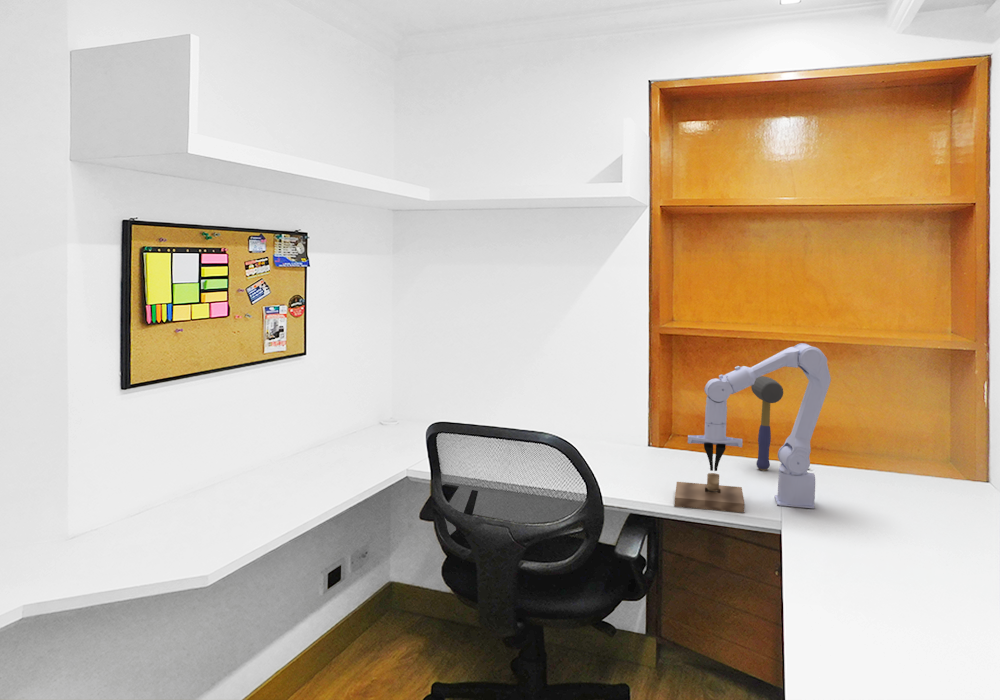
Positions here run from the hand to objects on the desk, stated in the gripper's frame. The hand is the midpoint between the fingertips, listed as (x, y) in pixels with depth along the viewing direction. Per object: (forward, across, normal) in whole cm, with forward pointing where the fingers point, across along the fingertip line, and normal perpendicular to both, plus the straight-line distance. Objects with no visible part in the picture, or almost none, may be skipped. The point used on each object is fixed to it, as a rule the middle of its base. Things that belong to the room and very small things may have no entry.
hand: (713, 469), depth 201 cm
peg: (+8, 0, 0) cm, 8 cm away
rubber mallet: (+9, -16, -35) cm, 39 cm away
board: (+8, +1, +2) cm, 9 cm away
